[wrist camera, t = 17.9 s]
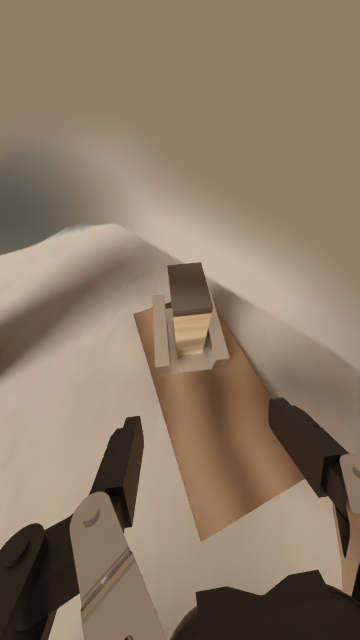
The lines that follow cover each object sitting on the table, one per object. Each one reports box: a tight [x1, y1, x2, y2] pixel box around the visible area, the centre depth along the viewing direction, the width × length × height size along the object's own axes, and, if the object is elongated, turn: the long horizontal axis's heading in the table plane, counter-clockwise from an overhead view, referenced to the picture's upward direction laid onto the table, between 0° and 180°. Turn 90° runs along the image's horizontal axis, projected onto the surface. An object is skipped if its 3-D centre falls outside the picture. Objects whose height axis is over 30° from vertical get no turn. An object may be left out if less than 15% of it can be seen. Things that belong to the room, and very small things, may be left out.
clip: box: [153, 290, 230, 376], centre depth 20 cm, size 9×7×3 cm
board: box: [133, 302, 305, 542], centre depth 20 cm, size 11×22×1 cm, turn 21°
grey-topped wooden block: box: [168, 262, 213, 355], centre depth 18 cm, size 5×3×9 cm, turn 7°
